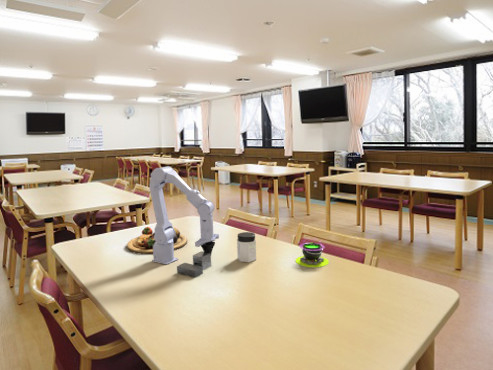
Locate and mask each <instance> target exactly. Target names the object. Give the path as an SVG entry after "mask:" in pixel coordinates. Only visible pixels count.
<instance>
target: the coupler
mask: <svg viewBox="0 0 493 370" xmlns="http://www.w3.org/2000/svg"><path fill="white" fill-rule="evenodd" d="M176 273H177V274H179V275H183V276H187V277H190V278H191V277H192V278H197V277H200V276H201V275H203V274H204V270H203V267H201V264H200V263H198V264H196V265H193V263H188V262H183V263H181V264H178V265H177V266H176Z"/></svg>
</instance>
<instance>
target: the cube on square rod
mask: <svg viewBox="0 0 493 370" xmlns="http://www.w3.org/2000/svg"><path fill="white" fill-rule="evenodd" d="M198 263H200V264H201V267H203V271H204V270H207V269H208V268H210V267H212V253H208V252H204V251H202V250H201V251H200V252H196V253H195V254H193V255H192V264H193V265H196V264H198Z"/></svg>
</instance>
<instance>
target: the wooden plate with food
mask: <svg viewBox="0 0 493 370" xmlns="http://www.w3.org/2000/svg"><path fill="white" fill-rule="evenodd" d="M173 228H174V230H175V236H174V238H173V245H174V251H177V249H178V250H179V249H182V248H184V247H185V246H186V245H187V244H188V238H187V237H186V236H185V235H183V234H181V232H180V231H179V229H178V228H176V227H173ZM154 235H155V231H154V232H153V229H152V228H151V227H149V226H146V227H145V228H143V229H142V231H141V234H140V235H139V236H137V237H135V238H132V239H131V240H129V241H128V242H127V244H126V249H127V250H128V251H129V252H131V253H133V252H135V254H138V253H141V254H140V255H153V245H154V243H155V242H156V241H155V239H154Z"/></svg>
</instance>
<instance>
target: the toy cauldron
mask: <svg viewBox="0 0 493 370" xmlns="http://www.w3.org/2000/svg"><path fill="white" fill-rule="evenodd" d="M306 239H309V236H308V237H307V238H306ZM311 239H312V238H311ZM312 240H313V241H314V240H317V237H314V239H312ZM313 241H311V242H305V240H302V242H303V243H302V244H300V245H299V248H300V249H301V250H302V251H301V252H302V256H299V257H297V258H296V259H295V263H296V264H297V265H298V266H302V267H307V268H323V267H325V266H327V265H329V263H330V261H329V260H328V258H326V257H323V256H322V252H323V251H324V249H325V248H326V246H325V245H324V244H322V243H321V242H322V241H321V240H319V239H318V241H319V243H316V242H313Z"/></svg>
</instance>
